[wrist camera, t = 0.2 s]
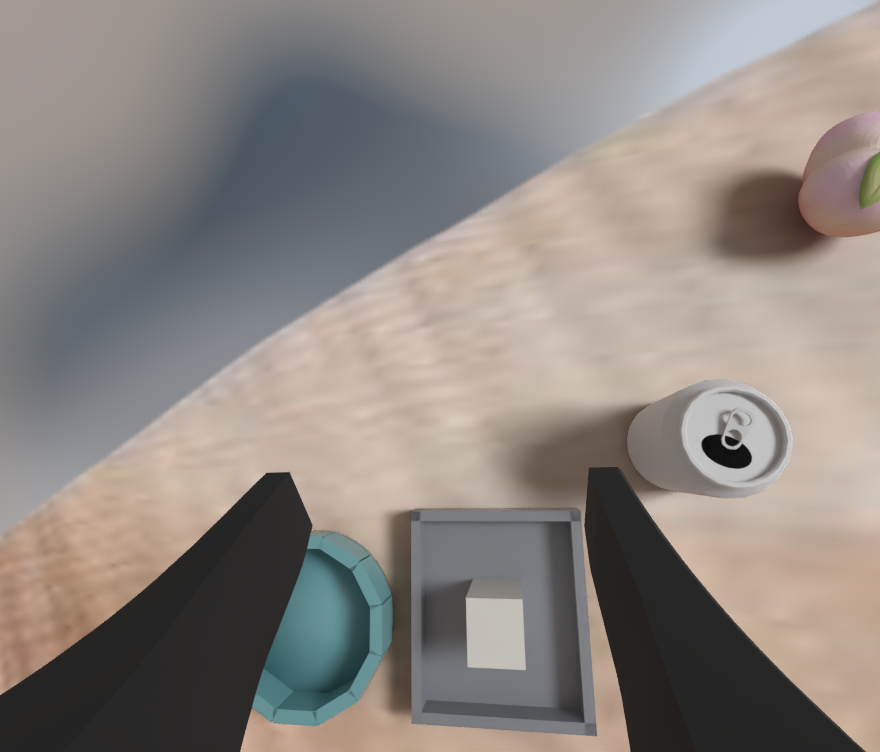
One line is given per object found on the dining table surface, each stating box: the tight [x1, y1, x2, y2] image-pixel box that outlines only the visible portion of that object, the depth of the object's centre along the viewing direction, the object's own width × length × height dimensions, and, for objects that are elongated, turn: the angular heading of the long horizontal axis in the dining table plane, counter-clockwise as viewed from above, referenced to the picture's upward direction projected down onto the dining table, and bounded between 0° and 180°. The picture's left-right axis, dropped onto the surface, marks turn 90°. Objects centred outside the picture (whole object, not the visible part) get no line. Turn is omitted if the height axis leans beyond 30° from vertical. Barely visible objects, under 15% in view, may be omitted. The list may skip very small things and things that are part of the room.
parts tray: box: [411, 508, 597, 736], centre depth 37 cm, size 16×14×2 cm
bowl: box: [252, 531, 394, 726], centre depth 39 cm, size 14×14×4 cm
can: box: [627, 379, 793, 498], centre depth 33 cm, size 8×8×12 cm
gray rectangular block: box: [466, 579, 526, 670], centre depth 35 cm, size 4×4×6 cm
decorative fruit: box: [798, 111, 880, 237], centre depth 36 cm, size 9×8×10 cm
